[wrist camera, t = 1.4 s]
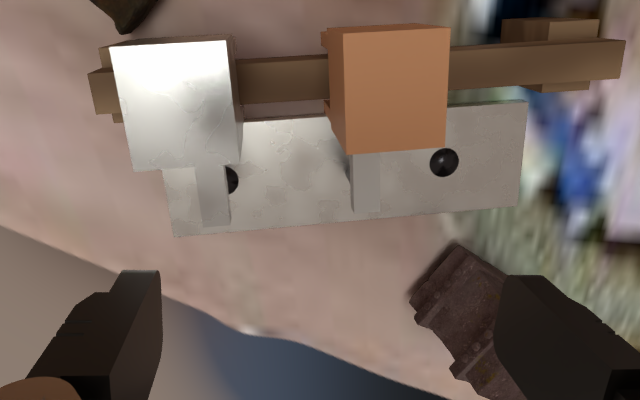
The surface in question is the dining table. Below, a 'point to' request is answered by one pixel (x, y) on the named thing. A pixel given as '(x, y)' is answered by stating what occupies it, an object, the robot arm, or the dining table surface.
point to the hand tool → (125, 12)
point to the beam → (464, 65)
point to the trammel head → (385, 97)
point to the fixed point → (183, 111)
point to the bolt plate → (331, 163)
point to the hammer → (467, 321)
